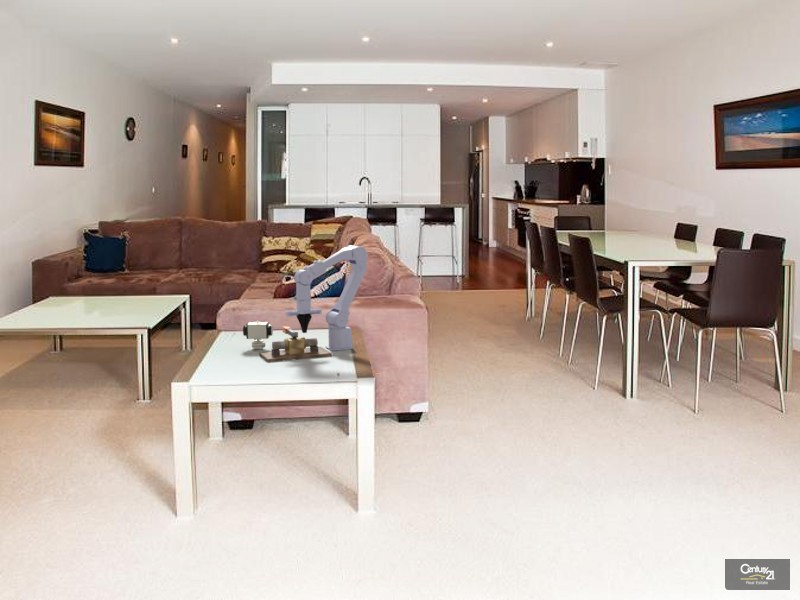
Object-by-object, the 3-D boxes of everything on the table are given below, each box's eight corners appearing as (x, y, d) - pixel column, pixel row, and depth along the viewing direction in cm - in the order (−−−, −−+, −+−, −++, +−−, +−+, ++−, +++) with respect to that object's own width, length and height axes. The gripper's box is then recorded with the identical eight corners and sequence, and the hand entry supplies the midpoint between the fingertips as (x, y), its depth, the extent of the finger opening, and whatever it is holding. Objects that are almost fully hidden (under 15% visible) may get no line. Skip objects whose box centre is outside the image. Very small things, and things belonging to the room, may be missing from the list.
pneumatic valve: (271, 349, 334) (270, 321, 332) (243, 350, 334) (242, 321, 332) (273, 347, 339) (272, 319, 337) (246, 347, 339) (245, 319, 337)
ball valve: (320, 349, 334) (320, 332, 333) (331, 356, 321) (331, 337, 320) (259, 355, 323) (258, 337, 322) (267, 362, 311) (267, 343, 310)
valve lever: (298, 337, 320) (298, 332, 320) (292, 338, 319) (292, 332, 319) (288, 331, 334) (288, 326, 334) (282, 331, 333) (282, 326, 333)
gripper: (289, 301, 319) (289, 335, 321) (323, 299, 324) (324, 332, 326) (284, 299, 325) (285, 332, 327) (318, 297, 331) (319, 329, 333)
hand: (304, 332), depth 327 cm, fingers closed
